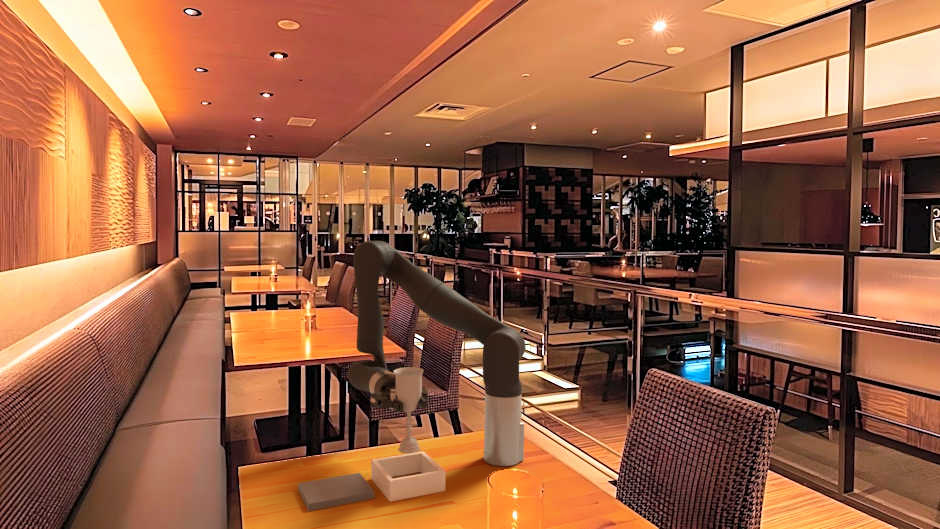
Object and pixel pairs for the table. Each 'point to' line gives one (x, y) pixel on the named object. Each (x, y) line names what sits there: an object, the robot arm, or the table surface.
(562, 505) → the table surface
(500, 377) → the robot arm
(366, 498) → the slate board
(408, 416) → the chalice
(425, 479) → the open box
